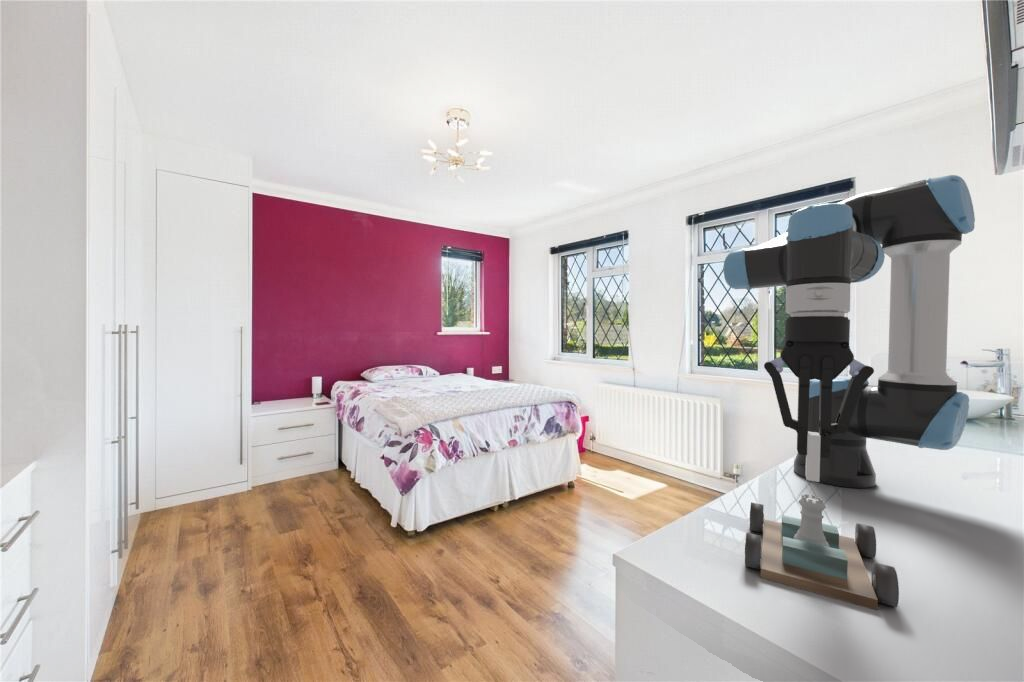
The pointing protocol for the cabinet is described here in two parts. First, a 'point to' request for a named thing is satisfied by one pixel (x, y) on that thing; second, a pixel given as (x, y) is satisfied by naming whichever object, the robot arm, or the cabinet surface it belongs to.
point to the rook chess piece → (811, 521)
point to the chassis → (820, 561)
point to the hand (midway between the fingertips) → (812, 478)
